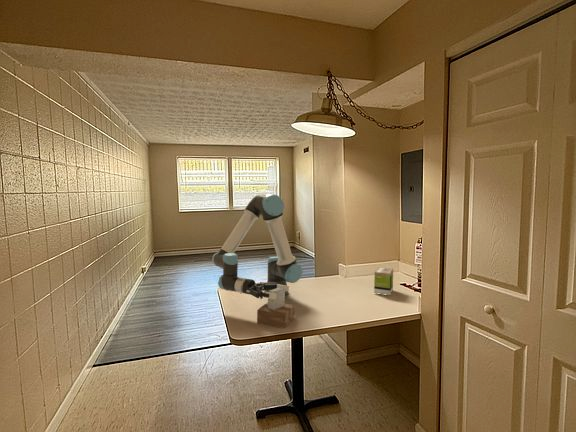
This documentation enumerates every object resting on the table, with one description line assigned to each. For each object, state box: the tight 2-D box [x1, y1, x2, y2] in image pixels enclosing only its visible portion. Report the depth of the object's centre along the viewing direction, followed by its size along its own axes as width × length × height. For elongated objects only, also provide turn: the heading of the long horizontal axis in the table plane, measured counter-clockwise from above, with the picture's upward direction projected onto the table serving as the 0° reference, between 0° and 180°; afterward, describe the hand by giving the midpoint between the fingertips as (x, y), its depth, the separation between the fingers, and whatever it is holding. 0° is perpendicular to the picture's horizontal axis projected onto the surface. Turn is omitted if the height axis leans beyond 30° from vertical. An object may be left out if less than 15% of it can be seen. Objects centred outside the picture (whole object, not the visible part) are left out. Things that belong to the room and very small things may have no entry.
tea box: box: [373, 267, 394, 296], centre depth 203 cm, size 15×10×15 cm, turn 154°
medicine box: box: [267, 288, 286, 310], centre depth 152 cm, size 8×4×9 cm, turn 140°
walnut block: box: [256, 301, 295, 329], centre depth 153 cm, size 14×14×7 cm
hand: (282, 292), depth 151 cm, fingers open, 13 cm apart
